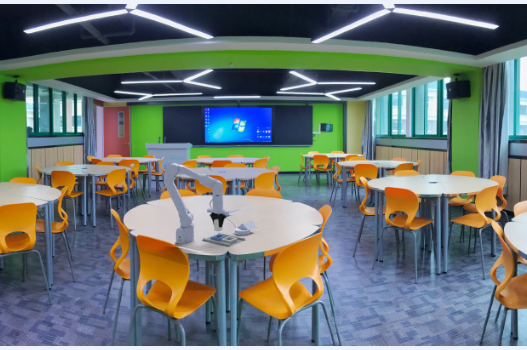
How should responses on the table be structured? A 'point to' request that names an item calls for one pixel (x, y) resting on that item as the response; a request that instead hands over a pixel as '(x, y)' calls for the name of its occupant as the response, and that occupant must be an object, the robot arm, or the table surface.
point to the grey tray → (224, 239)
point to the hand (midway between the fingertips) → (218, 226)
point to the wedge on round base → (245, 228)
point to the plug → (217, 225)
